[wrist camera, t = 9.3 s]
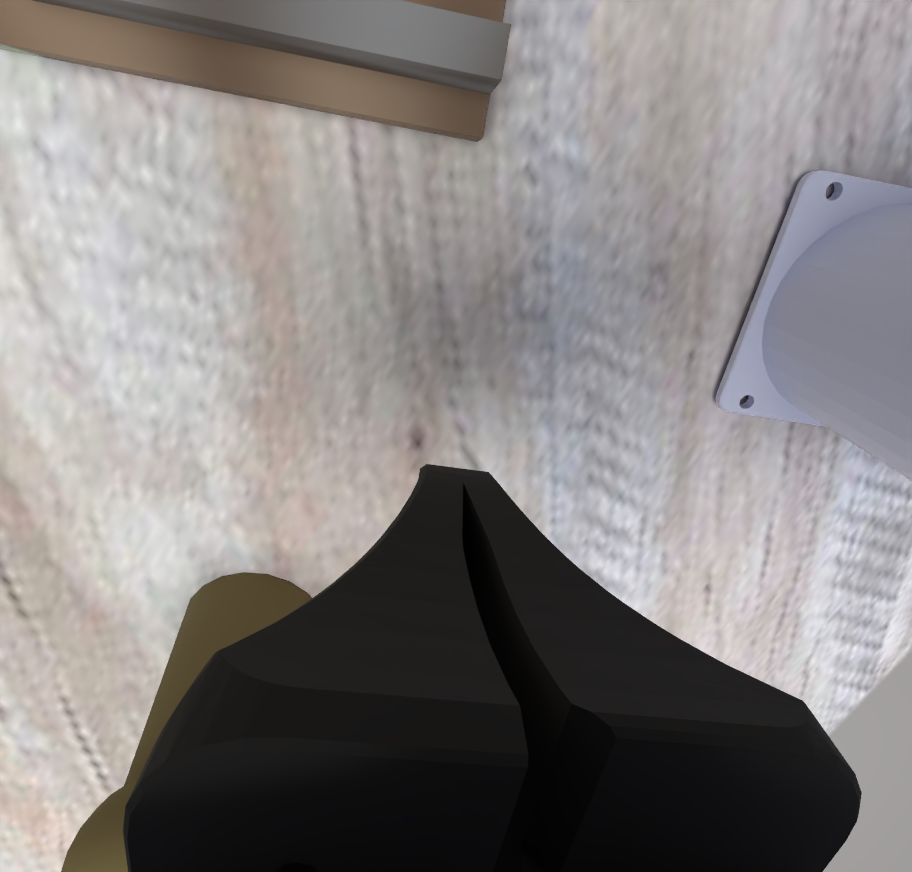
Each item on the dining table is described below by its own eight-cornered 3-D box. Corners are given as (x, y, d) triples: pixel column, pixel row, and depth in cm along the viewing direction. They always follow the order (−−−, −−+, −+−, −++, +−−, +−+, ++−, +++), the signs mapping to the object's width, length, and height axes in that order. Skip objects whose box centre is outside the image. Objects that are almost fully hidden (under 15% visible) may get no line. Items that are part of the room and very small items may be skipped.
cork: (288, 555, 23) (178, 852, 13) (349, 657, 25) (297, 973, 15) (156, 597, 23) (-48, 914, 13) (228, 693, 26) (103, 1019, 16)
